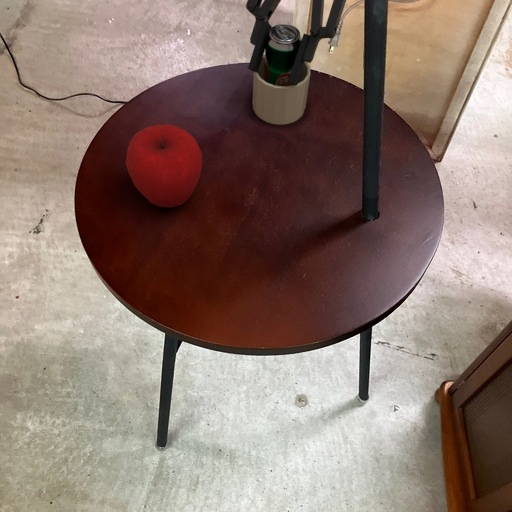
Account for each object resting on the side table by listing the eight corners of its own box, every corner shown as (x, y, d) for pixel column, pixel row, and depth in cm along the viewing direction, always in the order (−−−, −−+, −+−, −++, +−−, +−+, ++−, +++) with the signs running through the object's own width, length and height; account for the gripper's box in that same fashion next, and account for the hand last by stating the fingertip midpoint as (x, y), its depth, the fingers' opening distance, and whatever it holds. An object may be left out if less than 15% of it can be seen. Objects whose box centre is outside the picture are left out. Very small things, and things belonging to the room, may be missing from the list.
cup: (305, 90, 88) (310, 52, 82) (304, 126, 84) (310, 89, 78) (254, 86, 88) (255, 49, 82) (251, 122, 84) (252, 86, 78)
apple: (214, 211, 74) (212, 155, 65) (145, 231, 72) (132, 176, 63) (191, 159, 79) (186, 100, 70) (126, 176, 77) (112, 118, 68)
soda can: (274, 117, 83) (280, 49, 73) (255, 97, 86) (259, 29, 76) (301, 104, 85) (310, 36, 75) (282, 86, 87) (288, 17, 77)
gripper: (397, -72, 74) (336, 100, 79) (271, -105, 77) (221, 62, 82) (397, -97, 66) (330, 94, 72) (257, -132, 70) (204, 52, 75)
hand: (272, 76), depth 77 cm, fingers open, 5 cm apart
